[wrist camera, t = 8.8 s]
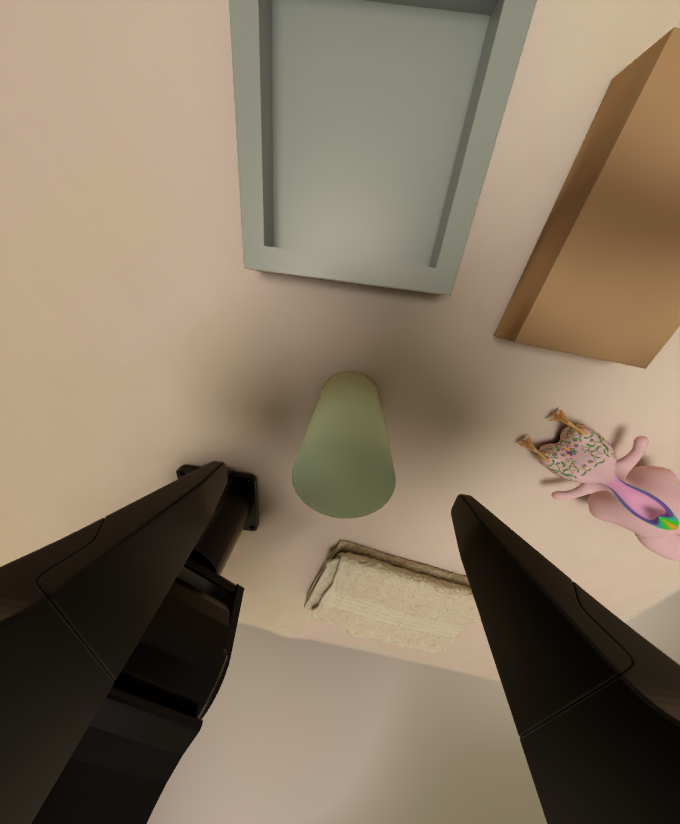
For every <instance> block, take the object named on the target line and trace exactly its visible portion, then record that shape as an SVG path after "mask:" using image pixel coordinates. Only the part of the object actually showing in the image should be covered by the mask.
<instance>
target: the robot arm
mask: <svg viewBox="0 0 680 824" xmlns="http://www.w3.org/2000/svg"><path fill="white" fill-rule="evenodd" d="M176 473H177V477H178V480H176V481H174V482H172V483H170V484H168V485H166V486H164V487H162V488H160V489H158V490H156V491H154V492H152V493H151V494H149V495H147V496H145V497H143V498H141V499H139V500H137V501H135V502H133V503H131V504H129V505H127V506H125V507H123V508H121V509H119V510H118V511H116V512H114V513H112V514H110V515H108V516H106V517H105V518H102V519H100V520H98V521H96V522H94V523H92V524H90V525H88V526H86V527H84V528H82V529H80V530H78V531H76V532H74V533H72V534H70V535H68V536H66V537H64V538H62V539H60V540H58V541H56V542H54V543H51V544H49V545H47V546H45V547H43V548H41V549H39V550H37V551H34V552H32V553H30V554H28V555H26V556H23V557H21V558H19V559H17V560H15V561H12V562H10V563H8V564H6V565H4V566H1V567H0V824H147V821H148V819H149V817H150V815H151V813H152V811H153V809H154V807H155V805H156V803H157V801H158V799H159V797H160V795H161V793H162V791H163V789H164V787H165V785H166V783H167V781H168V780H169V778H170V776H171V774H172V773H173V771H174V769H175V767H176V766H177V764H178V762H179V760H180V759H181V757H182V755H183V754H184V753H185V751H186V750H187V748H188V747H189V745H190V744H191V743H192V741H193V740H194V738H195V737H196V735H197V734H198V732H199V731H200V729H201V726H202V723H203V720H202V718H203V717H204V715H205V714H206V712H207V711H208V709H209V708H210V706H211V704H212V703H213V701H214V699H215V697H216V695H217V693H218V691H219V689H220V687H221V684H222V682H223V679H224V677H225V674H226V671H227V668H228V665H229V661H230V657H231V652H232V647H233V642H234V637H235V632H236V627H237V622H238V617H239V612H240V607H241V602H242V597H243V592H244V588H243V587H242V586H240V585H238V584H237V585H235V584H234V583H232V582H230V581H229V580H227V579H225V578H224V577H222V576H221V575H220V574H221V572H222V570H223V568H224V566H225V564H226V562H227V560H228V558H229V556H230V554H231V552H232V550H233V548H234V546H235V544H236V542H237V540H238V538H239V535H240V533H241V531H242V530H249V531H255V530H257V528H258V526H259V519H258V501H257V483H256V478H255V477H254V476H253V475H250V474H243V473H235V472H228V471H227V470H226V464H225V463H224V462H219V461H213V462H211V463H209V464H207V465H205V466H203V467H201V468H199V467H191V466H180V467H179V468H178V469H177V471H176ZM248 480H249V481H248ZM451 516H452V521H453V525H454V530H455V535H456V539H457V544H458V548H459V552H460V556H461V560H462V563H463V566H464V569H465V572H466V575H467V578H468V581H469V584H470V587H471V590H472V594H473V597H474V600H475V603H476V606H477V609H478V612H479V615H480V618H481V621H482V624H483V627H484V630H485V633H486V636H487V639H488V643H489V646H490V649H491V652H492V655H493V658H494V661H495V664H496V667H497V670H498V673H499V676H500V679H501V682H502V685H503V689H504V691H505V694H506V698H507V701H508V704H509V707H510V710H511V713H512V716H513V719H514V722H515V725H516V728H517V731H518V734H519V736H520V741H521V744H522V747H523V750H524V754H525V756H526V759H527V763H528V765H529V769H530V772H531V775H532V778H533V781H534V784H535V787H536V790H537V793H538V796H539V799H540V802H541V806H542V808H543V812H544V815H545V818H546V821H547V824H680V665H679V664H677V663H676V662H675V661H673V660H672V659H671V658H670V657H668V656H667V655H666V654H664V653H663V652H662V651H661V650H659V649H658V648H656V647H655V646H654V645H653V644H651V643H650V642H649V641H647V640H646V639H645V638H643V637H642V636H641V635H640V634H638V633H637V632H636V631H634V630H633V629H632V628H631V627H629V626H628V625H627V624H626V623H624V622H623V621H622V620H620V619H619V618H618V617H617V616H615V615H614V614H613V613H611V612H610V611H609V610H608V609H607V608H605V607H604V606H603V605H602V604H600V603H599V602H598V601H597V600H595V599H594V598H593V597H592V596H591V595H589V594H588V593H587V592H586V591H585V590H583V589H582V588H581V587H580V586H579V585H577V584H576V583H575V582H572V580H571V579H570V578H569V577H568V576H567V575H565V574H564V573H563V572H562V571H561V570H559V569H558V568H557V567H556V566H555V565H553V564H552V563H551V562H550V561H549V560H547V559H546V558H545V557H544V556H543V555H541V554H540V553H539V552H538V551H537V550H535V549H534V548H533V547H532V546H531V545H529V544H528V543H527V542H526V541H525V540H523V539H522V538H521V537H520V536H519V535H517V534H516V533H515V532H514V531H513V530H511V529H510V528H509V527H508V526H507V525H506V524H504V523H503V522H502V521H501V520H500V519H498V518H497V517H496V516H495V515H494V514H492V513H491V512H490V511H489V510H488V509H486V508H485V507H484V506H483V505H482V504H480V503H479V502H478V501H477V500H476V499H474V498H473V497H472V496H470V495H464V494H459V495H458V496H457V498H456V500H455V503H454V505H453V507H452V510H451Z"/></svg>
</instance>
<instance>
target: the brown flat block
mask: <svg viewBox="0 0 680 824" xmlns="http://www.w3.org/2000/svg"><path fill="white" fill-rule="evenodd" d="M679 326H680V29H679V28H675V27H674V28H673V29H672V30H670V31H669V32H668V33H667V34H666V35H664V36H663V37H662V38H661V39H660V40H658V41H657V42H656V43H655V44H654V45H652V46H651V47H650V48H649V49H648V50H646V51H645V52H644V53H643V54H642V55H640V56H639V57H638V58H637V59H636V60H634V61H633V62H632V63H631V64H630V65H628V66H627V67H626V68H625V69H624V70H622V71H621V72H620V73H619V74H618V75H617V76H615V77H614V78H613V79H612V81H611V83H610V85H609V87H608V90H607V92H606V94H605V96H604V98H603V100H602V103H601V105H600V107H599V109H598V111H597V113H596V116H595V118H594V120H593V122H592V124H591V126H590V129H589V131H588V133H587V135H586V137H585V139H584V142H583V144H582V146H581V148H580V150H579V152H578V155H577V157H576V159H575V161H574V163H573V165H572V168H571V170H570V172H569V174H568V176H567V178H566V181H565V183H564V185H563V187H562V189H561V191H560V194H559V196H558V198H557V200H556V202H555V204H554V207H553V209H552V211H551V213H550V215H549V217H548V220H547V222H546V224H545V226H544V228H543V230H542V233H541V235H540V237H539V239H538V241H537V243H536V246H535V248H534V250H533V252H532V254H531V256H530V259H529V261H528V263H527V265H526V267H525V269H524V272H523V274H522V276H521V278H520V280H519V282H518V285H517V287H516V289H515V291H514V293H513V295H512V298H511V300H510V302H509V304H508V306H507V308H506V311H505V313H504V315H503V317H502V319H501V321H500V324H499V326H498V328H497V330H496V332H495V334H494V335H495V336H498V337H501V338H504V339H507V340H510V341H514V342H518V343H523V344H528V345H532V346H537V347H542V348H547V349H552V350H557V351H562V352H567V353H572V354H576V355H581V356H586V357H591V358H596V359H601V360H606V361H611V362H615V363H620V364H625V365H630V366H635V367H640V368H645V369H646V368H647V366H648V365H649V364H650V363H651V361H652V360H653V359H654V358H655V356H656V355H657V354H658V352H659V351H660V350H661V349H662V347H663V346H664V345H665V344H666V342H667V341H668V340H669V339H670V337H671V336H672V335H673V334H674V332H675V331H676V330H677V329H678V327H679Z"/></svg>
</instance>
